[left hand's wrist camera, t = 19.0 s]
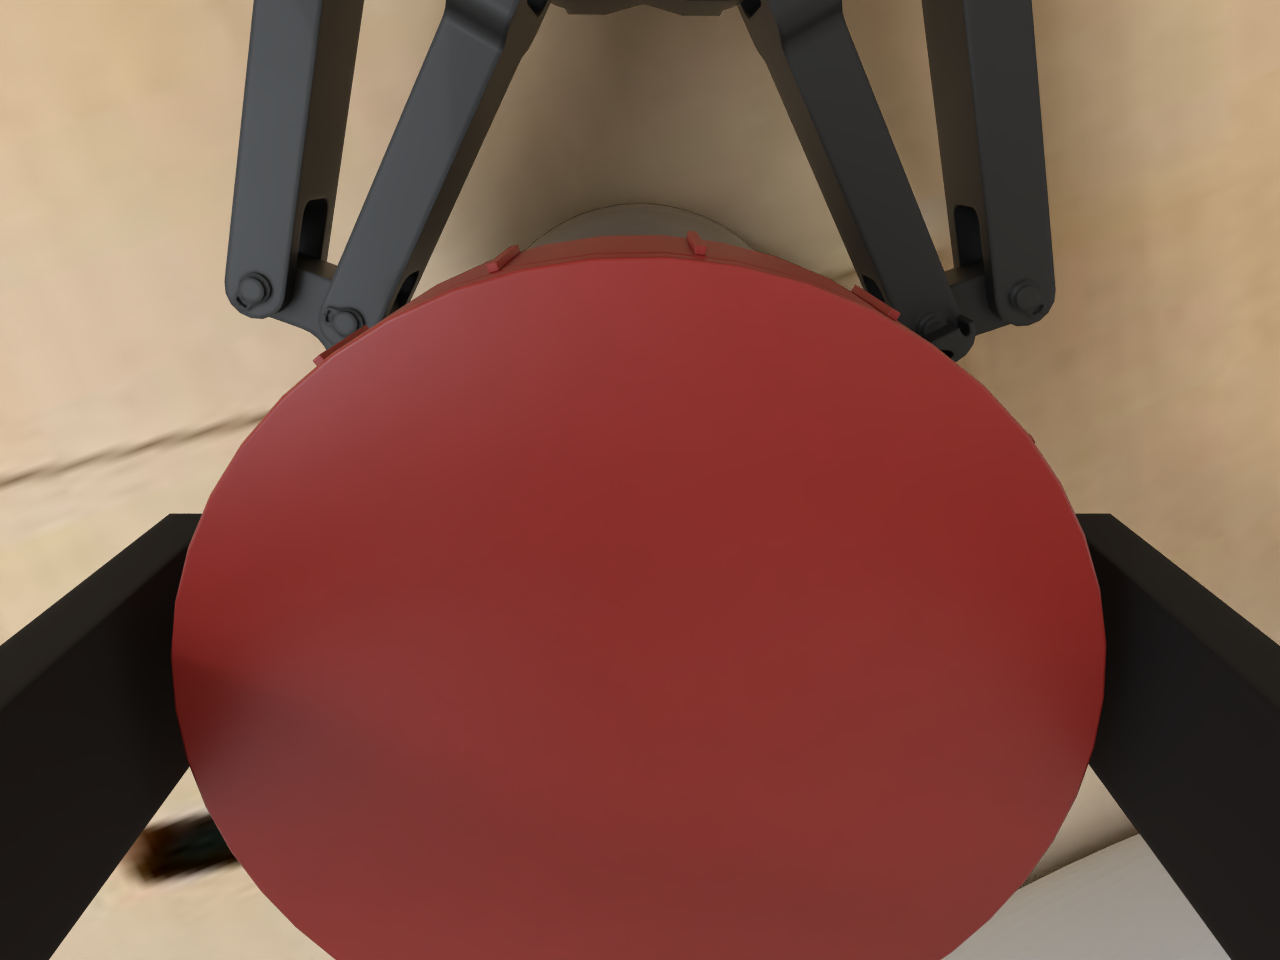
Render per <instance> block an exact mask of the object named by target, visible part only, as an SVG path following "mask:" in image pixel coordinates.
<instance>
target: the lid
mask: <svg viewBox="0 0 1280 960" xmlns="http://www.w3.org/2000/svg"><path fill="white" fill-rule="evenodd" d="M899 316H900V313H899V312H898V311H896V310H894V309H893V308H891V307H890V306H888V305H887V304H885V303H883V302H882V301H880V300H879V299H877V298H876V297H874V296H872V295H871V294H869V293H868V292H866V291H865V290H863V289H861V288H860V287H858V286H856V285H855V286H854V287H853V289H852V291H849V290H847V289H846V288H844V287H842V286H841V285H839V284H837V283H836V282H834V281H832V280H830V279H829V278H826V277H824V276H821V275H819V274H817V273H814V272H812V271H809V270H807V269H805V268H802V267H800V266H797V265H795V264H793V263H790V262H788V261H785V260H783V259H781V258H778V257H775V256H772V255H768V254H764V253H760V252H756V251H752V250H749V249H745V248H741V247H737V246H733V245H730V244H726V243H722V242H716V241H707V240H702V239H701V238H700V236H699V235H698V233H697V232H696V231H687V238H683V237H674V236H666V235H628V236H599V237H592V238H585V239H579V240H572V241H566V242H559V243H553V244H546V245H542V246H539V247H535V248H532V249H528V250H525V251H522V252H520V250H519V247H518V245H515V246H511V247H509V248H508V249H506V250H505V251H504V252H503V253H501V254H500V255H499V256H497V257H496V258H495V259H493V260H491V261H488V262H486V263H484V264H482V265H479V266H477V267H475V268H473V269H471V270H468V271H466V272H464V273H462V274H460V275H457V276H455V277H453V278H451V279H449V280H446V281H444V282H442V283H440V284H437V285H436V286H434V287H433V288H431V289H430V290H428V291H426V292H425V293H423V294H422V295H420V296H419V297H417V298H415V299H414V300H412V301H411V302H409V303H408V304H406V305H404V306H403V307H401V308H400V309H398V310H397V311H395V312H393V313H392V314H390V315H389V316H387V317H386V318H384V319H383V320H381V321H380V322H378V323H377V324H375V325H374V326H372V327H371V328H369V327H368V326H367V325H365V326H363V327H362V328H360V329H358V330H357V331H355V332H354V333H352V334H351V335H349V336H348V337H346V338H345V339H343V340H341V341H340V342H338V343H337V344H335V345H334V346H332V347H331V348H329V349H327V350H326V351H324V352H323V353H321V354H320V355H318V356H317V357H316V358H315V359H314V360H313V362H314V363H315V364H316V365H317V367H316V368H314V369H313V370H312V371H311V372H310V373H309V374H308V375H306V376H305V377H304V378H303V379H302V380H301V381H299V382H298V383H297V384H296V385H295V386H294V387H292V388H291V389H290V390H289V391H288V392H287V393H286V394H284V395H283V396H282V397H281V398H280V400H279V401H278V402H277V403H276V404H275V405H274V407H273V408H272V409H271V410H270V411H269V412H268V414H267V415H266V416H265V417H264V418H263V419H262V421H261V422H260V423H259V424H258V425H257V426H256V428H255V429H254V430H253V431H252V432H251V433H250V435H249V436H248V437H247V438H246V439H245V440H244V442H243V443H242V444H241V446H240V447H239V449H238V451H237V452H236V454H235V455H234V457H233V459H232V460H231V462H230V464H229V465H228V467H227V468H226V470H225V472H224V473H223V475H222V477H221V478H220V480H219V481H218V483H217V485H216V486H215V488H214V489H213V491H212V493H211V494H210V497H209V499H208V501H207V504H206V506H205V509H204V511H203V513H202V516H201V518H200V521H199V523H198V525H197V528H196V530H195V533H194V535H193V537H192V540H191V542H190V545H189V547H188V551H187V555H186V559H185V563H184V567H183V572H182V576H181V580H180V584H179V588H178V592H177V597H176V601H175V611H174V625H173V638H172V651H171V663H172V675H173V688H174V700H175V710H176V715H177V719H178V723H179V727H180V732H181V736H182V740H183V744H184V749H185V753H186V757H187V760H188V763H189V766H190V768H191V771H192V773H193V776H194V778H195V781H196V783H197V786H198V788H199V791H200V793H201V796H202V798H203V801H204V804H205V806H206V808H207V810H208V812H209V813H210V815H211V817H212V819H213V820H214V822H215V824H216V826H217V827H218V829H219V831H220V833H221V835H222V836H223V838H224V840H225V842H226V843H227V845H228V847H229V849H230V850H231V852H232V853H233V854H234V856H235V857H236V858H237V860H238V861H239V862H240V864H241V865H242V866H243V868H244V869H245V870H246V872H247V873H248V874H249V876H250V877H251V878H252V880H253V881H254V882H255V884H256V885H257V886H258V888H259V889H260V890H261V892H262V893H263V894H264V895H265V896H266V897H267V898H268V899H269V900H270V901H271V902H272V903H273V904H274V905H275V906H276V907H277V908H278V909H279V910H280V911H281V912H282V913H283V914H284V915H285V916H286V917H287V918H288V919H289V920H290V922H291V923H292V924H293V925H294V926H295V927H296V928H298V929H299V930H300V931H301V932H302V933H304V934H305V935H306V936H307V937H309V938H310V939H311V940H312V941H313V942H315V943H316V944H317V945H318V946H320V947H321V948H322V949H323V950H324V951H326V952H327V953H328V954H329V955H331V956H332V957H333V958H334V959H336V960H941V959H943V958H944V957H946V956H947V955H949V954H950V953H952V952H953V951H954V950H955V949H956V948H958V947H959V946H960V945H961V944H962V943H963V942H965V941H966V940H967V939H968V938H969V937H970V936H972V935H973V934H974V933H975V932H976V931H977V930H978V929H980V928H981V927H982V926H983V925H984V924H985V923H987V922H988V921H989V920H990V919H991V918H992V917H993V916H994V915H995V914H996V912H997V911H998V910H999V909H1000V908H1001V907H1002V906H1003V905H1004V904H1005V903H1006V902H1007V900H1008V899H1009V898H1010V897H1011V896H1012V895H1013V894H1014V893H1015V892H1016V891H1017V889H1018V888H1019V887H1020V886H1021V885H1022V884H1023V883H1024V882H1025V880H1026V879H1027V878H1028V876H1029V875H1030V873H1031V872H1032V870H1033V869H1034V868H1035V866H1036V865H1037V863H1038V862H1039V861H1040V859H1041V858H1042V856H1043V855H1044V853H1045V852H1046V851H1047V849H1048V848H1049V846H1050V845H1051V844H1052V842H1053V841H1054V839H1055V837H1056V835H1057V833H1058V831H1059V829H1060V827H1061V825H1062V823H1063V822H1064V820H1065V818H1066V816H1067V814H1068V812H1069V810H1070V808H1071V806H1072V804H1073V802H1074V801H1075V799H1076V797H1077V794H1078V791H1079V789H1080V786H1081V783H1082V780H1083V777H1084V775H1085V772H1086V769H1087V766H1088V763H1089V761H1090V758H1091V755H1092V752H1093V749H1094V746H1095V740H1096V735H1097V730H1098V725H1099V720H1100V715H1101V710H1102V705H1103V700H1104V687H1105V664H1106V637H1105V629H1104V620H1103V611H1102V602H1101V594H1100V587H1099V584H1098V580H1097V577H1096V573H1095V570H1094V566H1093V562H1092V559H1091V555H1090V552H1089V548H1088V545H1087V541H1086V537H1085V534H1084V532H1083V530H1082V528H1081V526H1080V524H1079V521H1078V519H1077V517H1076V515H1075V513H1074V511H1073V508H1072V506H1071V504H1070V502H1069V500H1068V498H1067V495H1066V493H1065V491H1064V489H1063V487H1062V485H1061V482H1060V481H1059V479H1058V478H1057V477H1056V475H1055V474H1054V472H1053V471H1052V469H1051V468H1050V466H1049V465H1048V463H1047V462H1046V460H1045V459H1044V457H1043V456H1042V454H1041V453H1040V451H1039V450H1038V448H1037V447H1036V445H1035V444H1034V443H1035V441H1034V439H1033V438H1032V436H1031V435H1030V434H1028V433H1027V432H1026V431H1025V430H1024V429H1023V428H1022V426H1021V425H1020V424H1019V423H1018V422H1017V421H1016V420H1015V419H1014V418H1013V417H1012V416H1011V414H1010V413H1009V412H1008V411H1007V410H1006V409H1005V408H1004V407H1003V406H1002V405H1001V404H1000V402H999V401H998V400H997V399H996V398H995V397H994V396H993V395H992V394H991V393H990V392H989V390H988V389H987V388H986V387H985V386H984V385H982V384H981V383H980V382H979V381H978V380H976V379H975V378H974V377H973V376H971V375H970V374H969V373H968V372H966V371H965V370H964V369H963V368H961V367H960V366H959V365H958V364H956V363H955V362H954V361H953V360H951V359H950V358H949V357H948V356H946V355H945V354H944V353H943V352H942V351H940V350H939V349H938V348H937V347H935V346H934V345H933V344H931V343H930V342H928V341H927V340H925V339H924V338H922V337H921V336H919V335H918V334H916V333H915V332H913V331H912V330H910V329H909V328H907V327H906V326H905V325H903V324H902V323H900V322H899V321H897V319H898V317H899Z"/></svg>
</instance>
